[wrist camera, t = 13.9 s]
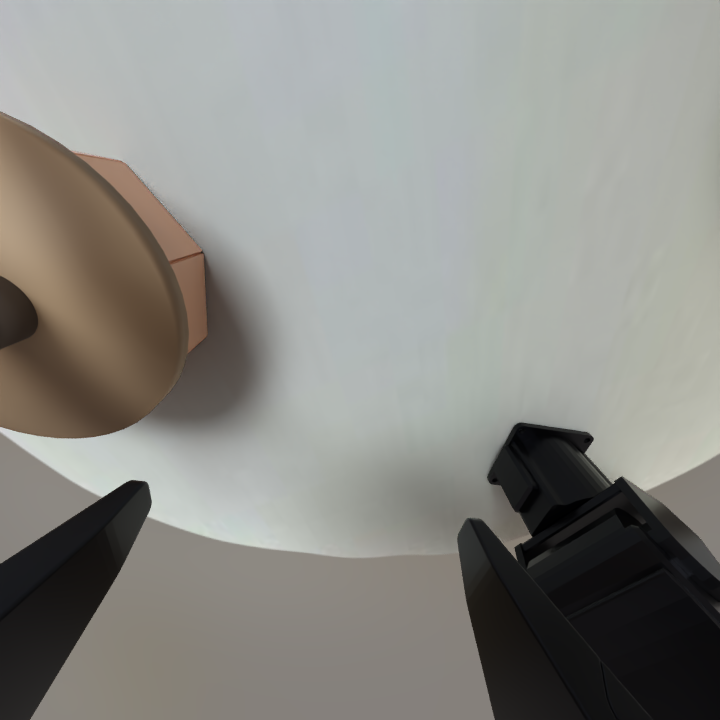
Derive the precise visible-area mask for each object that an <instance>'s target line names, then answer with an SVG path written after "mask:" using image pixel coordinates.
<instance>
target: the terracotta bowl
mask: <svg viewBox="0 0 720 720" xmlns="http://www.w3.org/2000/svg"><path fill="white" fill-rule="evenodd" d="M70 151H71V150H70ZM71 152H73V153H74V154H76V155H77V156H78V157H80V158H81V159H82V160H84V161H85V162H86V163H88V164H89V165H90V166H91V167H92V168H93V169H94V170H95V171H97V172H98V173H99V174H100V175H101V176H102V177H103V178H105V179H106V180H107V181H108V182H109V183H110V184H111V185H112V186H113V187H114V188H115V189H116V190H117V191H118V192H119V193H120V194H121V195H122V196H123V198H124V199H125V200H126V201H127V202H128V203H129V204H130V205H131V206H132V207H133V209H134V210H135V211H136V212H137V214H138V215H139V216H140V218H141V219H142V220H143V221H144V223H145V224H146V225H147V226H148V228H149V229H150V231H151V232H152V234H153V235H154V237H155V238H156V240H157V242H158V243H159V245H160V246H161V248H162V249H163V251H164V253H165V255H166V257H167V259H168V261H169V263H170V265H171V267H172V269H173V271H174V273H175V275H176V278H177V281H178V284H179V286H180V289H181V292H182V294H183V299H184V303H185V307H186V311H187V318H188V328H189V341H188V352H187V354H188V353H189V352H190V351H191V350H192V349H194V348H195V347H196V346H197V345H198V344H199V343H200V342H201V341H203V340H204V339H205V338H206V337H207V335H208V330H207V310H206V289H205V269H204V254H203V253H200V252H202V250H201V248H200V247H199V246H198V245H197V244H196V243H195V242H194V241H193V239H192V238H191V237H190V236H189V235H188V234H187V233H186V231H185V230H184V229H183V228H182V227H181V226H180V225H179V224H178V222H177V221H176V220H175V219H174V218H173V217H172V216H171V215H170V213H169V212H168V211H167V210H166V209H165V208H164V207H163V205H162V204H161V203H160V202H159V201H158V200H157V199H156V198H155V196H154V195H153V194H152V193H151V192H150V191H149V190H148V188H147V187H146V186H145V185H144V184H143V183H142V182H141V181H140V179H139V178H138V177H137V176H136V175H135V174H134V173H133V171H132V170H131V169H130V168H129V167H128V166H127V165H126V164H125V163H122V161H119V160H114V159H110V158H105V157H100V156H95V155H90V154H85V153H81V152H76V151H71Z"/></svg>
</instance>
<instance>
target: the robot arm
mask: <svg viewBox="0 0 720 720" xmlns="http://www.w3.org/2000/svg"><path fill="white" fill-rule="evenodd" d="M520 429H522V430H520ZM593 440H594V438H593V437H592V436H591V435H590V434H589V433H587V432H581V431H575V430H568V429H561V428H554V427H548V426H541V425H534V424H527V423H518V424H516V425H515V426H514V428H513V430H512V431H511V433H510V435H509V437H508V439H507V441H506V443H505V445H504V446H503V448H502V450H501V452H500V454H499V456H498V458H497V459H496V461H495V463H494V465H493V467H492V469H491V471H490V473H489V474H488V477H487V478H488V480H489V483H491V484H494V485H501V486H502V488H503V490H504V492H505V494H506V496H507V498H508V500H509V502H510V504H511V506H512V507H513V509H514V511H515V512H518V513H520V515H521V517H522V519H523V521H524V522H525V524H526V526H527V528H528V530H529V532H530V534H531V536H532V538H531V539H529V540H528V541H526V542H524V543H523V544H522V543H520V544H519V545H517V546H516V547H515V552H516V556H517V560H518V561H517V560H516V559H515V558H514V557H513V555H512V554H511V553H510V552H509V551H508V550H507V548H506V547H505V546H504V545H503V544H502V543H501V541H500V540H499V539H498V538H497V537H496V535H495V534H494V533H493V532H492V531H491V530H490V528H489V527H488V526H487V525H486V524H485V523H484V522H483V521H482V520H481V519H476V518H468V519H466V521H465V522H464V524H463V526H462V528H461V530H460V532H459V534H458V539H457V540H458V549H459V556H460V562H461V569H462V576H463V582H464V589H465V595H466V601H467V606H468V610H469V615H470V619H471V623H472V627H473V631H474V635H475V640H476V643H477V648H478V652H479V656H480V660H481V664H482V669H483V673H484V677H485V681H486V685H487V689H488V693H489V697H490V702H491V706H492V710H493V714H494V718H495V720H720V564H719V562H718V561H717V560H716V559H715V557H714V556H713V555H712V553H711V552H710V551H709V549H708V548H707V547H706V545H705V544H704V543H703V541H702V540H701V539H700V538H699V537H698V536H697V535H696V534H695V533H694V532H693V531H692V530H691V529H690V528H689V527H688V526H686V525H685V524H684V523H683V522H682V521H681V520H680V519H679V518H678V517H677V516H676V515H674V513H672V512H671V511H670V510H669V509H668V508H667V507H666V506H665V505H664V504H662V503H661V502H660V501H658V500H657V499H655V498H654V497H652V496H651V495H649V494H648V493H646V492H645V491H643V490H642V489H640V488H639V487H637V486H636V485H634V484H633V483H631V482H630V481H628V480H627V479H625V478H624V477H622V476H621V477H620V478H618V479H617V480H615V481H614V482H615V483H614V484H612V483H611V482H610V481H609V480H608V478H607V477H606V476H605V475H604V474H603V473H602V472H601V471H600V470H599V469H598V467H597V466H596V465H595V464H594V463H593V462H592V461H591V460H590V459H589V458H588V457H587V455H586V454H585V452H586V450H587V449H588V447H589V446H590V445H591V443H592V442H593ZM151 504H152V500H151V495H150V490H149V485H148V483H147V482H145V481H136V480H131V481H128V482H126V483H124V484H123V485H121V486H120V487H118V488H117V489H115V490H114V491H112V492H111V493H109V494H108V495H106V496H104V497H103V498H101V499H100V500H98V501H97V502H95V503H94V504H92V505H91V506H89V507H88V508H86V509H84V510H83V511H81V512H80V513H78V514H77V515H75V516H74V517H72V518H70V519H69V520H67V521H66V522H64V523H63V524H61V525H60V526H58V527H57V528H55V529H53V530H52V531H50V532H49V533H47V534H46V535H44V536H43V537H41V538H40V539H38V540H36V541H35V542H34V543H32V544H31V545H29V546H27V547H26V548H24V549H23V550H21V551H20V552H18V553H16V554H15V555H13V556H12V557H10V558H9V559H7V560H6V561H4V562H3V563H1V564H0V720H30V719H31V717H32V716H33V714H34V712H35V710H36V709H37V707H38V706H39V704H40V702H41V700H42V699H43V697H44V696H45V694H46V692H47V691H48V689H49V687H50V686H51V684H52V683H53V681H54V679H55V677H56V676H57V674H58V673H59V671H60V669H61V668H62V666H63V664H64V663H65V661H66V660H67V658H68V656H69V655H70V653H71V651H72V650H73V648H74V646H75V645H76V643H77V641H78V640H79V638H80V636H81V635H82V633H83V632H84V630H85V628H86V627H87V625H88V623H89V621H90V620H91V618H92V617H93V615H94V613H95V612H96V610H97V608H98V607H99V605H100V604H101V602H102V600H103V599H104V597H105V595H106V594H107V592H108V590H109V589H110V587H111V585H112V584H113V582H114V580H115V579H116V577H117V575H118V573H119V572H120V570H121V567H122V566H123V564H124V562H125V560H126V558H127V556H128V554H129V552H130V550H131V548H132V545H133V544H134V541H135V540H136V537H137V535H138V533H139V531H140V529H141V527H142V525H143V523H144V521H145V519H146V517H147V515H148V513H149V511H150V508H151Z"/></svg>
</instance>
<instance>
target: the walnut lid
mask: <svg viewBox="0 0 720 720" xmlns="http://www.w3.org/2000/svg"><path fill="white" fill-rule="evenodd" d="M188 341H189V328H188V318H187V311H186V307H185V303H184V299H183V294H182V292H181V289H180V286H179V284H178V281H177V278H176V275H175V273H174V271H173V269H172V267H171V265H170V263H169V261H168V259H167V257H166V255H165V253H164V251H163V249H162V248H161V246H160V245H159V243H158V242H157V240H156V238H155V237H154V235H153V234H152V232H151V231H150V229H149V228H148V226H147V225H146V224H145V223H144V221H143V220H142V219H141V218H140V216H139V215H138V214H137V212H136V211H135V210H134V209H133V207H132V206H131V205H130V204H129V203H128V202H127V201H126V200H125V199H124V198H123V196H122V195H121V194H120V193H119V192H118V191H117V190H116V189H115V188H114V187H113V186H112V185H111V184H110V183H109V182H108V181H107V180H106V179H105V178H103V177H102V176H101V175H100V174H99V173H98V172H97V171H95V170H94V169H93V168H92V167H91V166H90V165H89V164H88V163H86V162H85V161H84V160H82V159H81V158H80V157H78V156H77V155H76V154H74V153H73V152H71V151H70V150H69V149H67V148H66V147H65V146H63V145H62V144H60V143H59V142H57V141H56V140H54V139H52V138H51V137H49V136H47V135H46V134H44V133H42V132H41V131H39V130H37V129H36V128H34V127H32V126H31V125H28V124H26V123H24V122H22V121H20V120H18V119H16V118H13V117H11V116H9V115H7V114H5V113H3V112H0V427H3V428H6V429H10V430H13V431H17V432H22V433H27V434H32V435H37V436H44V437H53V438H88V437H96V436H101V435H106V434H110V433H113V432H116V431H119V430H122V429H125V428H127V427H129V426H131V425H133V424H135V423H137V422H138V421H139V420H141V419H142V418H144V417H145V416H146V415H148V414H149V413H150V412H151V411H152V410H153V409H154V408H155V407H156V406H157V405H158V404H159V403H160V402H161V401H162V400H163V399H164V398H165V396H166V395H167V394H168V393H169V392H170V391H171V390H172V389H173V387H174V385H175V384H176V382H177V381H178V379H179V377H180V375H181V373H182V370H183V368H184V365H185V361H186V357H187V352H188Z"/></svg>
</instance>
